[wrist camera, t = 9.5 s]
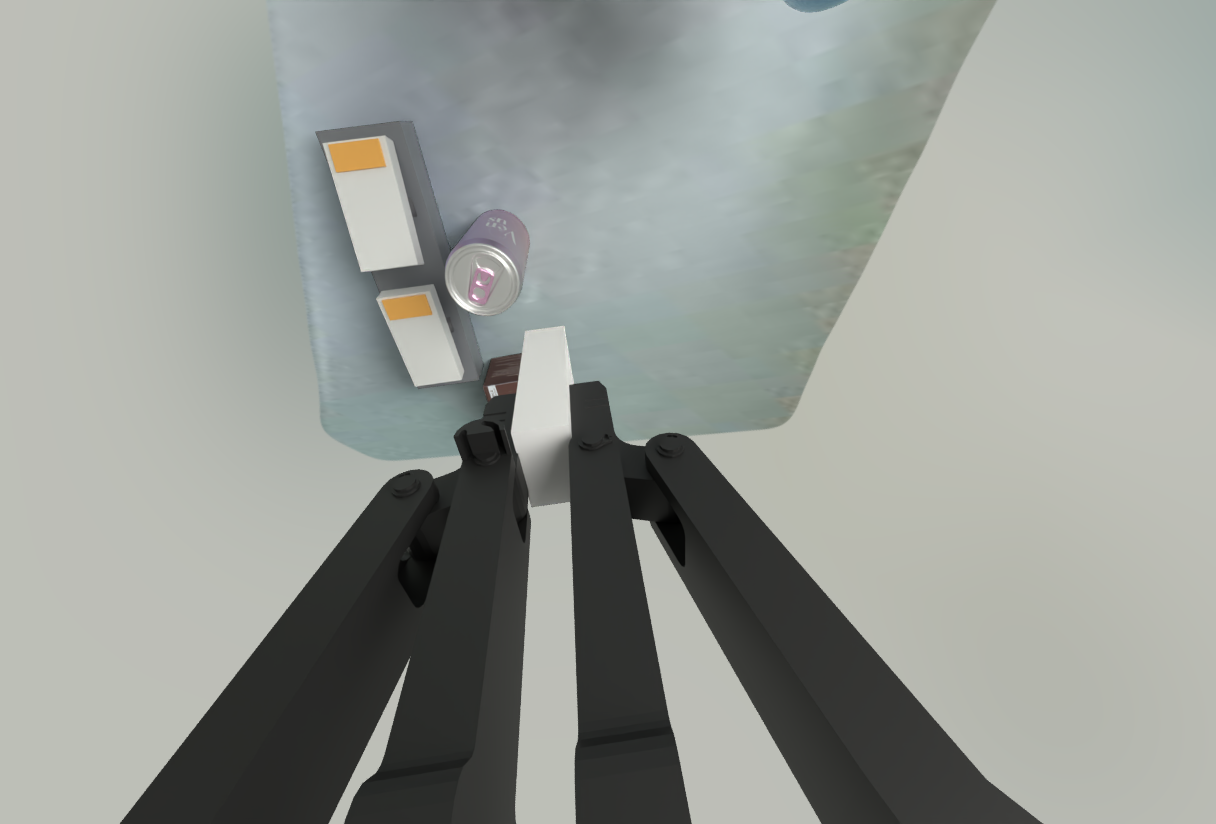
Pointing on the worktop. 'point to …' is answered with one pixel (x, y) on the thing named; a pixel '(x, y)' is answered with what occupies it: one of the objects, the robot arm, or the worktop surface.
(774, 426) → the worktop surface
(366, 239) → the block
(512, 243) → the beverage can
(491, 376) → the box
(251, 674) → the robot arm
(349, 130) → the switch panel
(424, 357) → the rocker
